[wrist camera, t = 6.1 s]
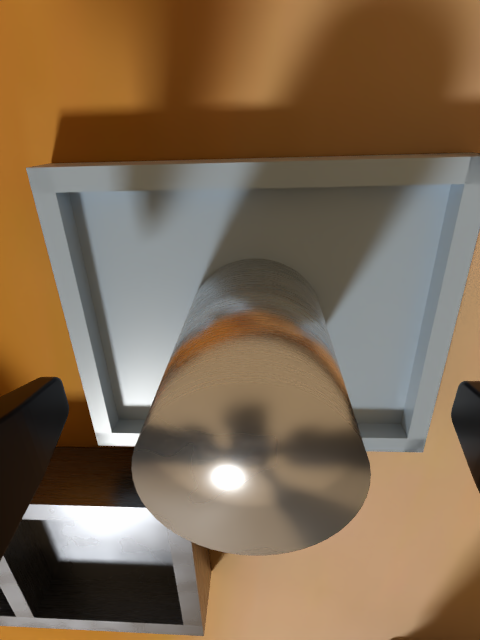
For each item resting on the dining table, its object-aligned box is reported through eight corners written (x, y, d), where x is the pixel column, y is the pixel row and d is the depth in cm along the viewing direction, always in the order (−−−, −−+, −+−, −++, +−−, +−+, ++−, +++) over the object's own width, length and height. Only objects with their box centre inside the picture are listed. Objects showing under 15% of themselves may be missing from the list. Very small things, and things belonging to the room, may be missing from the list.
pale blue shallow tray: (472, 152, 10) (497, 155, 9) (410, 427, 14) (422, 452, 13) (50, 163, 11) (26, 167, 9) (110, 422, 15) (98, 445, 14)
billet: (326, 257, 11) (386, 387, 5) (317, 375, 13) (356, 559, 7) (185, 259, 11) (111, 384, 6) (196, 374, 13) (148, 551, 8)
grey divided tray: (198, 450, 15) (186, 508, 13) (211, 572, 19) (203, 636, 16) (-168, 442, 16) (-240, 496, 14) (-88, 560, 20) (-135, 618, 17)
